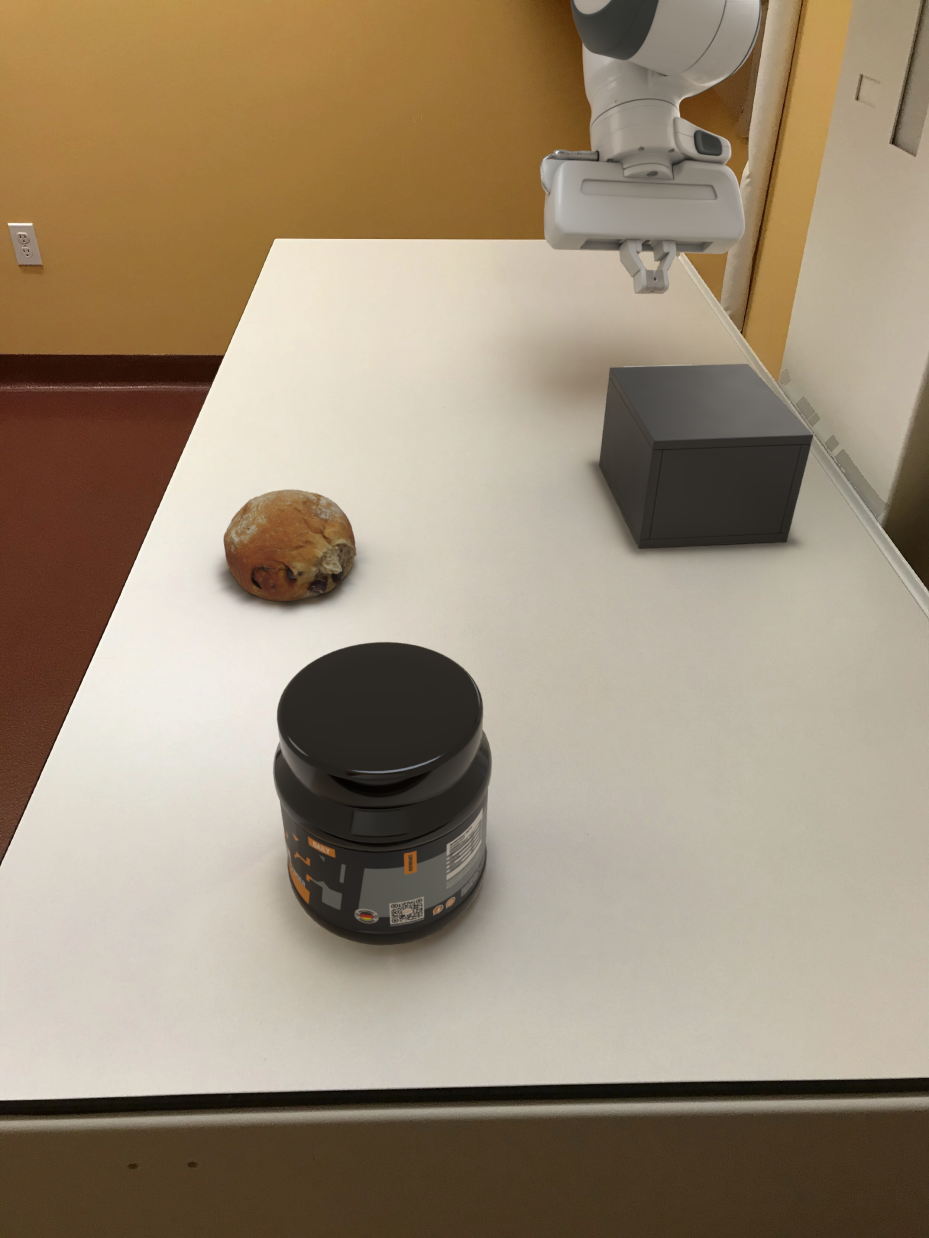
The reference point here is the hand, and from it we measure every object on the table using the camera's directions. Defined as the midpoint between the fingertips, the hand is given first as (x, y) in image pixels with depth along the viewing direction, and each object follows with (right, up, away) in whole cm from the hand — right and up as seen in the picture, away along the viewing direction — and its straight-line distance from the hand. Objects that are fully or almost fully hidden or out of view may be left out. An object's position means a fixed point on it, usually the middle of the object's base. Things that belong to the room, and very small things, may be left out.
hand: (652, 291), depth 94 cm
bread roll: (-32, -28, -19) cm, 46 cm away
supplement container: (-22, -46, -42) cm, 66 cm away
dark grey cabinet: (+1, -22, -9) cm, 24 cm away
